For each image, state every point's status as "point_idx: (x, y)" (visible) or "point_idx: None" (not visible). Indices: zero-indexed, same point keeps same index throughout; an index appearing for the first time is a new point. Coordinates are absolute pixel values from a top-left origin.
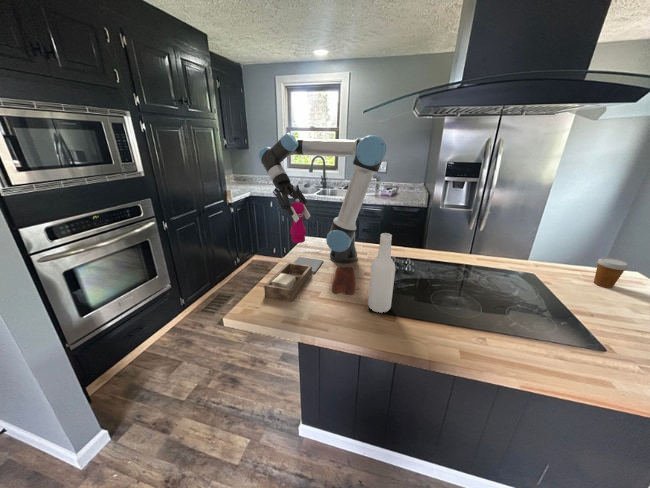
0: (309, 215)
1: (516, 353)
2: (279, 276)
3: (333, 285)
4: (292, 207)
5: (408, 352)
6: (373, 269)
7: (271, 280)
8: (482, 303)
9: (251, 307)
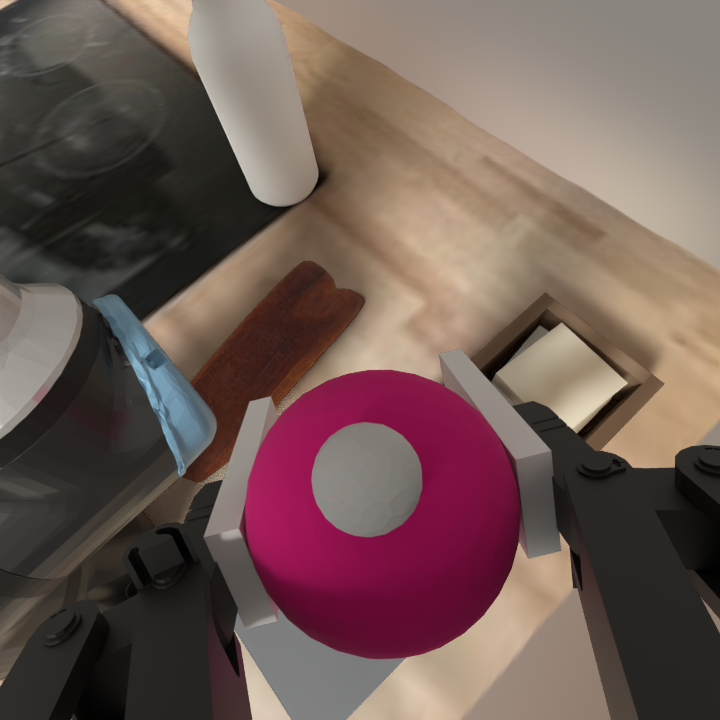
0: (261, 404)
1: (188, 4)
2: (576, 411)
3: (335, 330)
4: (518, 445)
5: (356, 57)
6: (283, 40)
7: (618, 415)
8: (54, 101)
9: (705, 351)
